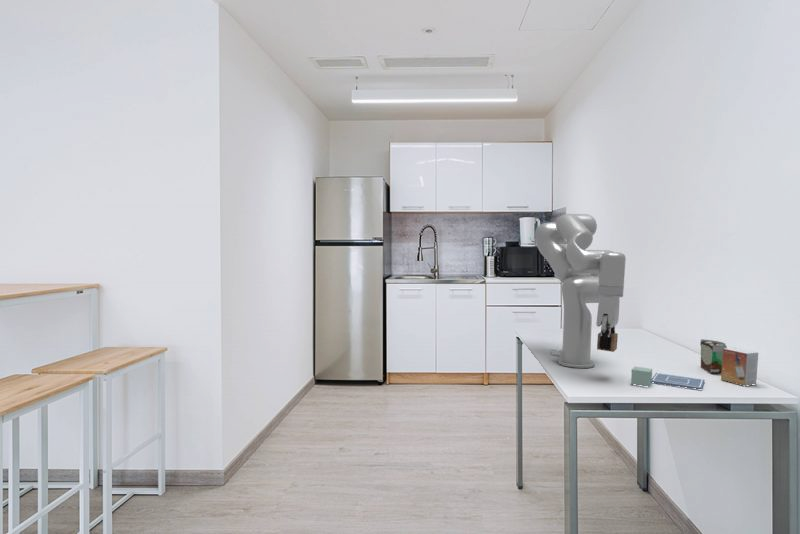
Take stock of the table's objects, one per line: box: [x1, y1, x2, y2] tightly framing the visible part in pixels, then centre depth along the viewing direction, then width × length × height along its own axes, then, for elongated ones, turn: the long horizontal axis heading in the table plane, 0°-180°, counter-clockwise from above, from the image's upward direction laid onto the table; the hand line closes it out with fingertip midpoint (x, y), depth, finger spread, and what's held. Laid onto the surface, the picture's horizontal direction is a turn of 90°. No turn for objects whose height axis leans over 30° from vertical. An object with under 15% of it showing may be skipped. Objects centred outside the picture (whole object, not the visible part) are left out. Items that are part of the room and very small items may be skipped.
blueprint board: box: [652, 372, 706, 390], centre depth 167 cm, size 14×12×1 cm
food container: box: [700, 339, 728, 375], centre depth 182 cm, size 12×6×10 cm, turn 168°
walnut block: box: [596, 331, 619, 353], centre depth 169 cm, size 5×5×5 cm
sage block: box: [630, 366, 653, 388], centre depth 163 cm, size 5×5×5 cm
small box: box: [720, 347, 759, 385], centre depth 168 cm, size 8×6×10 cm
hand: (607, 346), depth 169 cm, fingers closed on walnut block, 4 cm apart
